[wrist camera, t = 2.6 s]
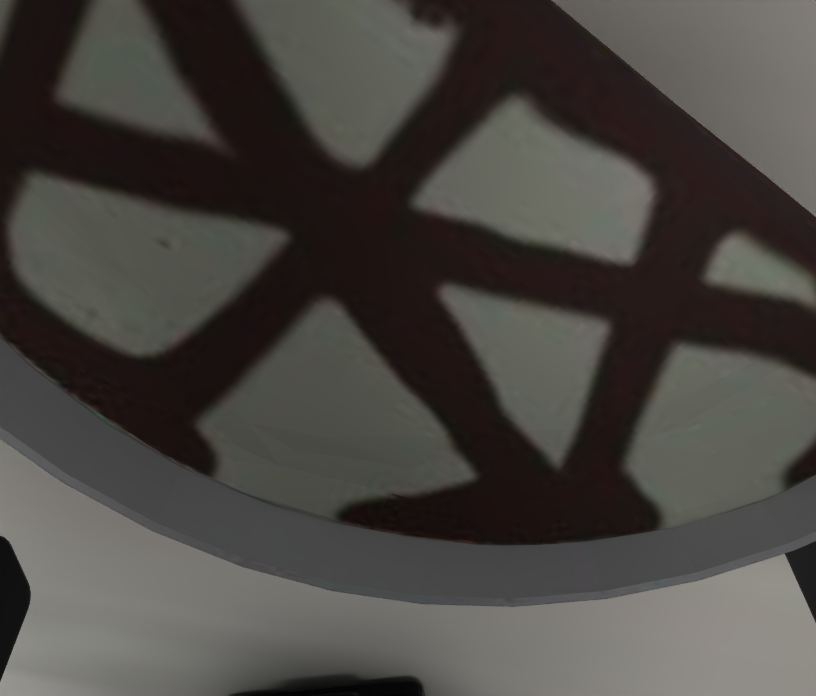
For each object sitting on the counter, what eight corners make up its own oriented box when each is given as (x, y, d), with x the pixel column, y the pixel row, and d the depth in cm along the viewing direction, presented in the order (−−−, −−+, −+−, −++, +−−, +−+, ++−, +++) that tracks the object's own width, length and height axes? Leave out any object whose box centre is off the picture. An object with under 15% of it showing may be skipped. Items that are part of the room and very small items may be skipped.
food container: (19, 75, 14) (-687, 208, 5) (148, -251, 12) (-730, -1119, 3) (506, 375, 17) (620, 792, 8) (683, 165, 15) (1118, 419, 6)
